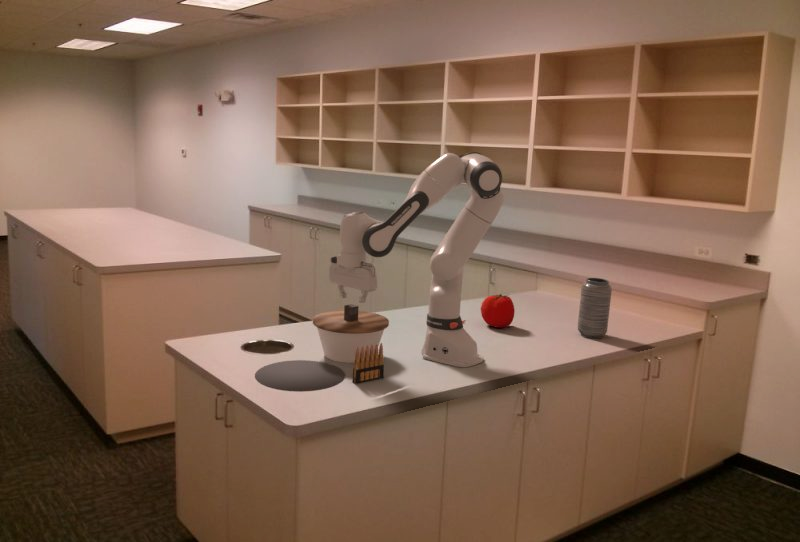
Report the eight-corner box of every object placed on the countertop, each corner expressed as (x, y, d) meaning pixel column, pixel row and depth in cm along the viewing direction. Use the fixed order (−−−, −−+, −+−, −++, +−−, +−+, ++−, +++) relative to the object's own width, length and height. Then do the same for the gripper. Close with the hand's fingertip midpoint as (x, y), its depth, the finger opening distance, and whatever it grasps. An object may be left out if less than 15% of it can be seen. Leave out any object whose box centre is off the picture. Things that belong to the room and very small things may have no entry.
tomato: (520, 330, 280) (522, 297, 277) (490, 332, 275) (492, 299, 272) (500, 320, 294) (503, 289, 291) (472, 321, 289) (474, 290, 286)
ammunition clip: (380, 378, 217) (382, 341, 215) (383, 380, 215) (385, 343, 213) (352, 384, 211) (353, 346, 208) (355, 386, 209) (356, 348, 207)
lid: (404, 324, 236) (405, 307, 235) (349, 338, 217) (350, 320, 215) (351, 309, 253) (352, 293, 251) (296, 320, 234) (297, 303, 232)
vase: (581, 329, 285) (587, 275, 281) (609, 334, 280) (615, 279, 275) (573, 335, 275) (578, 280, 271) (602, 341, 270) (608, 284, 265)
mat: (363, 378, 216) (363, 376, 216) (293, 400, 195) (293, 398, 195) (305, 356, 234) (306, 354, 234) (236, 374, 214) (236, 372, 213)
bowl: (309, 347, 245) (309, 314, 242) (374, 344, 252) (375, 312, 249) (322, 369, 222) (323, 334, 220) (392, 365, 229) (394, 331, 227)
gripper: (381, 263, 226) (381, 303, 228) (339, 255, 239) (339, 293, 242) (368, 265, 221) (367, 307, 224) (326, 257, 235) (325, 296, 237)
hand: (352, 300), depth 233 cm, fingers open, 8 cm apart
